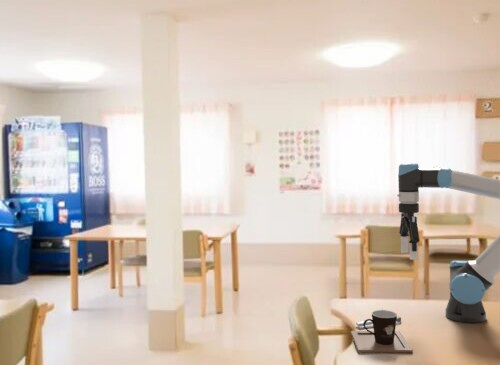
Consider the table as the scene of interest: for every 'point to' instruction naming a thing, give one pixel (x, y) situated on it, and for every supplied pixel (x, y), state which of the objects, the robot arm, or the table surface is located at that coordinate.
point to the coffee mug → (383, 326)
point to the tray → (368, 345)
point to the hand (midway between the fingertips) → (409, 255)
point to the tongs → (370, 325)
